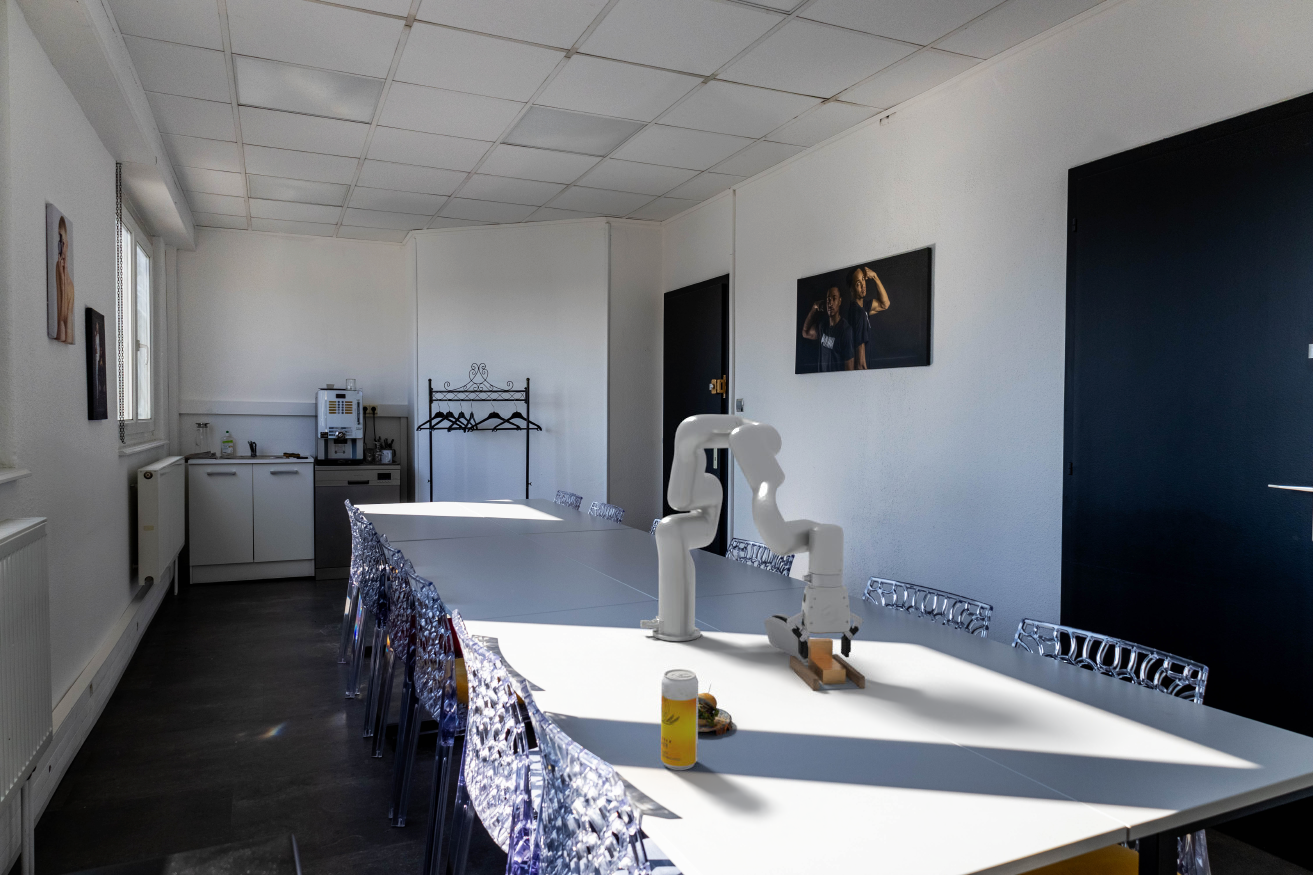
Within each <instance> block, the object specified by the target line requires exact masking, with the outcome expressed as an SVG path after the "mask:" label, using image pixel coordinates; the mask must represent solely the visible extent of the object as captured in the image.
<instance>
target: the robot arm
mask: <svg viewBox="0 0 1313 875" xmlns="http://www.w3.org/2000/svg"><path fill="white" fill-rule="evenodd" d="M782 444H783V442H782V437H781V435H780V433H779V431H778V430H777V429H776V428H775V427H774V426H772V425H770V424H769V423H765V422H762V421H757V420H754V419H750V418H749V417H748V418H747V417H745V416H741V415H736V414H713V413H711V414H709V413H708V414H705V413H704V414H696V415H692V416H688V417H687V418H685V419H684V420H682V422H680V424H679V425H678V427H677V429H676V432H675V438H674V455H673V460H672V465H671V470H670V478H669V482H668V488H667V502H668V505H669V507H671V508H672V509H673V510H675V511H679V512H686V513H677V514H670V515H667V516H665V517H662V518H661V520H660V521H658V523H657V525H656V526H655V527H656V528H655V530H654V532H655V533H654V536H655V541H656V547H657V555H658V556H657V557H658V615H655V618H652V620H650V619H649V620H648V619H644V620H643V619H641V620H640V628H641V629H642V628H643V629H644V628H646V630H652V636H653V637H654V638H656V639H658V640H661V641H662V640H663V641H667V642H686V641H692V640H696V639H699V638H700V637H701V633H702V632H701V629H699V627H696V624H695V623H696V567H695V566H696V565H695V561H694V559H693V557H692V554H691V550H695V549H700V548H704V547H707V546H709V545H710V544H711V543H713V541H714V539H715V538H716V534H717V530H718V527H719V526H718V524H719V521H720V514H721V509H722V505H723V504H722V503H723V497H724V496H723V487H722V484H721V481H720V480H719V479H718V477H717V476H716V475H714V474H711V473H708V472H706V467H707V455H706V452H705V449H729V450H730V451H731V453H732V455H733V457H734V459H735V460H736V462H737V465H738V466H739V468H740V470H741V472H742V473H743V475H744V478H745V479H746V481H747V483H748V486H749V487H750V489H751V491H752V499H751V512H752V518H753V522H754V525H755V527H756V529H757V532H758V533H759V535H760V537H761V539H762V541H763V543H764V544H765V545H766V547H767V549H769V551H771V552H772V553H773V554H774V555H777V556H778V557H779V556H780V557H788V556H792V555H797V554H805V553H808V570H807V574H805V575H803V574H802V577H801V578H802V581H803V582H806V583H807V584H805V587H804V591H803V596H802V600H801V601H802V603H801V610H800V612H798V613H796V614H795V615H793V616H790V617H791V618H789V619H788V620H787V624H788V626H789V628H790V630H791V632H792V633H793V634H794V635H795V636H796V637H797V638H798V653H799V654H800V656H801V657H802V658H803V659H807V653H808V642H807V641H806V638H807V637H808V636H809V637H810V635H811V634H814V635H815V634H817V635H818V634H819V635H820V634H840V633H841V634H843V635H841V637H840V654H841V655H843V656H844V657H845V658H850V653H852V640H853V639H854V636H855V635H856V634H857V633H858V632H859V629H860V627H861V625H862V624H863V620H864V619H863V618H862V617H860V616H858V615H856V614H855V613H853V612H851V611H850V600H849V594H848V589H847V586H845V585H844V584H843V583H844V541H845V540H844V537H845V536H844V529H843V527H841V526H840V525H839V524H834V523H819V522H817V521H814V520H811V519H806V518H805V519H802V518H801V519H795V520H794V519H793V520H789V521H788V520H787V521H786V520H785V519H784V517H783V514H782V513H781V511H780V509H779V506H778V505H777V500H776V494H777V491H778V489H779V487H781V486H782V484H783V483H784V481H785V479H786V475H785V473H784V470H783V468H782V467H781V465H780V464H779V461H778V460H777V458H776V457H775V456H777V455H778V454H780V452H781V449H782ZM851 620H852V621H853V623H852V625H851ZM797 622H799V623H800V624H801V625H802V628H801V629H800V630H799V631H798V630H797V628H796V626H795V624H796V623H797Z"/></svg>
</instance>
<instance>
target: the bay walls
mask: <svg viewBox="0 0 1313 875" xmlns="http://www.w3.org/2000/svg"><path fill="white" fill-rule="evenodd" d="M833 659H834V660H835V661H836V662H837V663H839V664H840V665H841V666H842V667H843V668H844V669H845V670H846V675H845V676H846V677H848V678H849V679H850V680H851V681H852V682H853V683H855V684H856V685H857V686H858V687H859V690H860V689H865V688H866V686H865V684H866V676H865V675H864V674H862V673H861V672H860V671H859V670H857V669H856V668H855V667H854V666H853V665H851V664H850V663H849V662H848V661H846V660H845V659H844V658H842V656H840V655H839V654H836V653H833ZM805 665H806V664H804V663H803V661H801V660H799V659H798V658H797V657H795V656H792V655H789V668H790V669H791V670H792V671H793V673H795V674H796V675H797V676H798V677H799V678H800V679H801V680H802V681H803V682H804V683H805V684H806V685H807V686H808V687H809V688H810V689H811V690H812V691H815V692H816V691H820V690H819V678H818V677H817V676H816V675H815V674H814V673H812V672H811V671H810V670H809V669H808V668H807V667H806V666H805Z"/></svg>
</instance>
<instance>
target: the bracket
mask: <svg viewBox="0 0 1313 875" xmlns="http://www.w3.org/2000/svg"><path fill="white" fill-rule="evenodd" d="M833 648H834V640H833V639H831V637H825V638H824V637H823V638H822V637H821V638H820V637H817V638H816V637H815V638H810V639H808V661H807V665H808V669H809V670H810V671H811V672H812V673H814V674H815V675H816V676H817V677H818V678H819V681H820V682H821V683H822V684H842V683H845V675H846V670H845V669H844V668H843V667H842V666H841V665H840V664H839V663H837V662H836V661H835V660H834V659H833V654H834V653H833V650H834V649H833Z"/></svg>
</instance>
